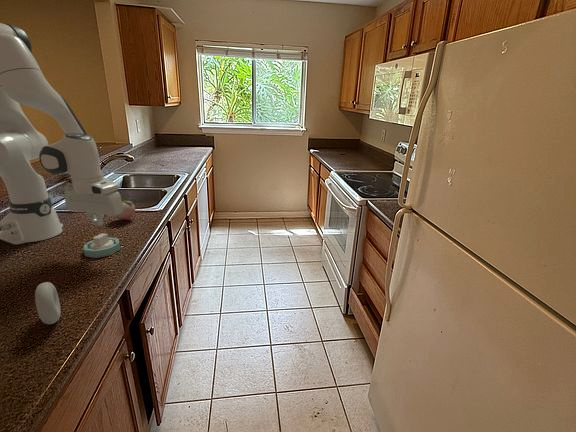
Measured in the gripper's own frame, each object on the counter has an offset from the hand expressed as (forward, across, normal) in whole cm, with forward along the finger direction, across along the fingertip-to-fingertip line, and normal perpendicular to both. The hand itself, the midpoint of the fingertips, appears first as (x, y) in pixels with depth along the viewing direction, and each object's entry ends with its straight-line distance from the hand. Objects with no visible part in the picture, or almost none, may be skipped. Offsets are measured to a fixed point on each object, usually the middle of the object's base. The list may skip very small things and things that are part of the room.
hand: (98, 224), depth 107 cm
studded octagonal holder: (+10, 0, 0) cm, 10 cm away
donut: (+10, +17, -34) cm, 39 cm away
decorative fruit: (+10, -13, +26) cm, 31 cm away
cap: (+9, 0, 0) cm, 9 cm away
